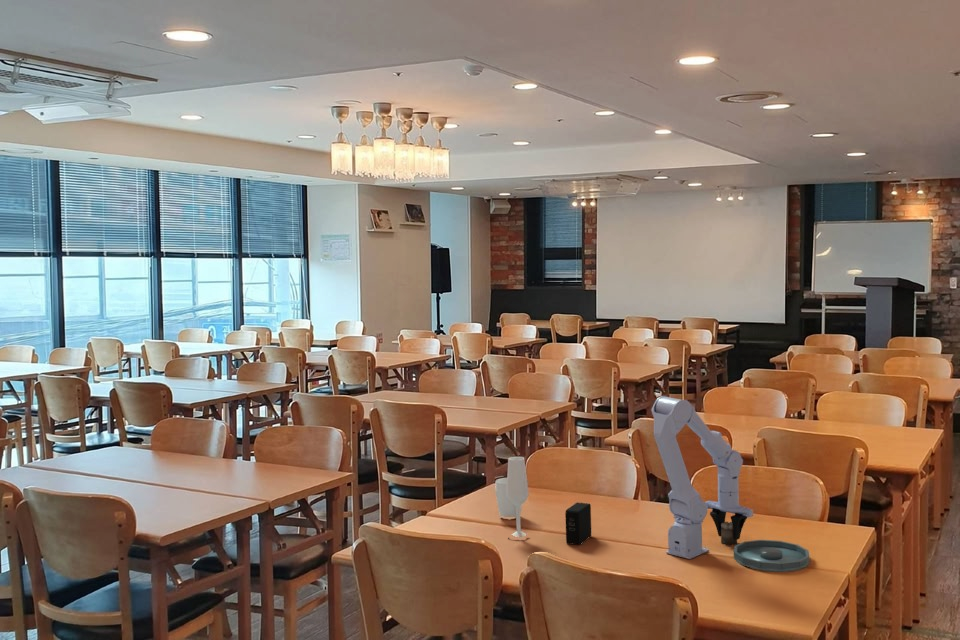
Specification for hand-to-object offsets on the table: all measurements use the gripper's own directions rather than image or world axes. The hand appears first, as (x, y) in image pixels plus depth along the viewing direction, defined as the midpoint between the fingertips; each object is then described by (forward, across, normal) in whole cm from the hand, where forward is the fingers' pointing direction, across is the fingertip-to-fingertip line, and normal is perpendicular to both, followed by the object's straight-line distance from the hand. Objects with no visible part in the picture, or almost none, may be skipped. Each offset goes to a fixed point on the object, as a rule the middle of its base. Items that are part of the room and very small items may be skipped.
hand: (729, 537), depth 258 cm
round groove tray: (+2, -16, +5) cm, 17 cm away
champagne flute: (+2, +49, +36) cm, 61 cm away
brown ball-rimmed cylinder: (+2, 0, 0) cm, 2 cm away
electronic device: (+2, +34, +26) cm, 43 cm away
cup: (+2, +66, +23) cm, 70 cm away
